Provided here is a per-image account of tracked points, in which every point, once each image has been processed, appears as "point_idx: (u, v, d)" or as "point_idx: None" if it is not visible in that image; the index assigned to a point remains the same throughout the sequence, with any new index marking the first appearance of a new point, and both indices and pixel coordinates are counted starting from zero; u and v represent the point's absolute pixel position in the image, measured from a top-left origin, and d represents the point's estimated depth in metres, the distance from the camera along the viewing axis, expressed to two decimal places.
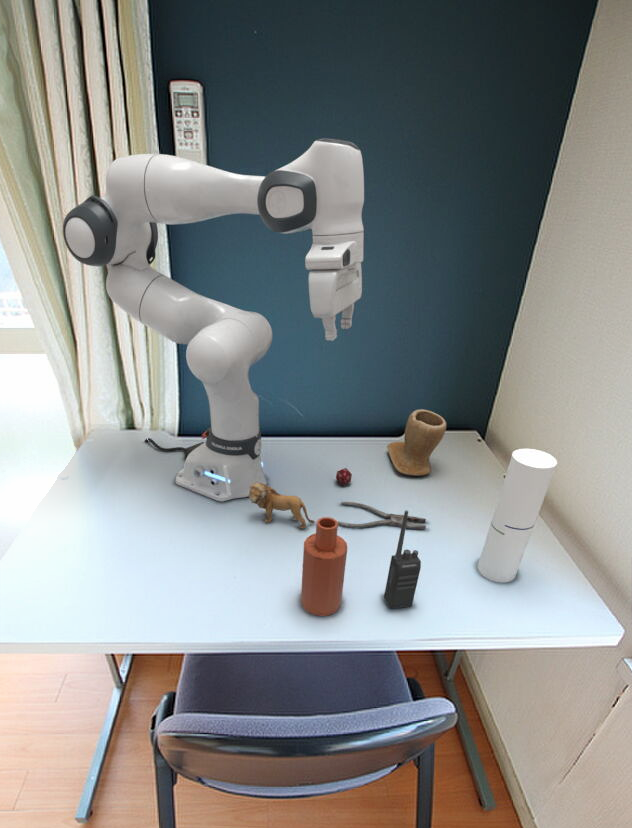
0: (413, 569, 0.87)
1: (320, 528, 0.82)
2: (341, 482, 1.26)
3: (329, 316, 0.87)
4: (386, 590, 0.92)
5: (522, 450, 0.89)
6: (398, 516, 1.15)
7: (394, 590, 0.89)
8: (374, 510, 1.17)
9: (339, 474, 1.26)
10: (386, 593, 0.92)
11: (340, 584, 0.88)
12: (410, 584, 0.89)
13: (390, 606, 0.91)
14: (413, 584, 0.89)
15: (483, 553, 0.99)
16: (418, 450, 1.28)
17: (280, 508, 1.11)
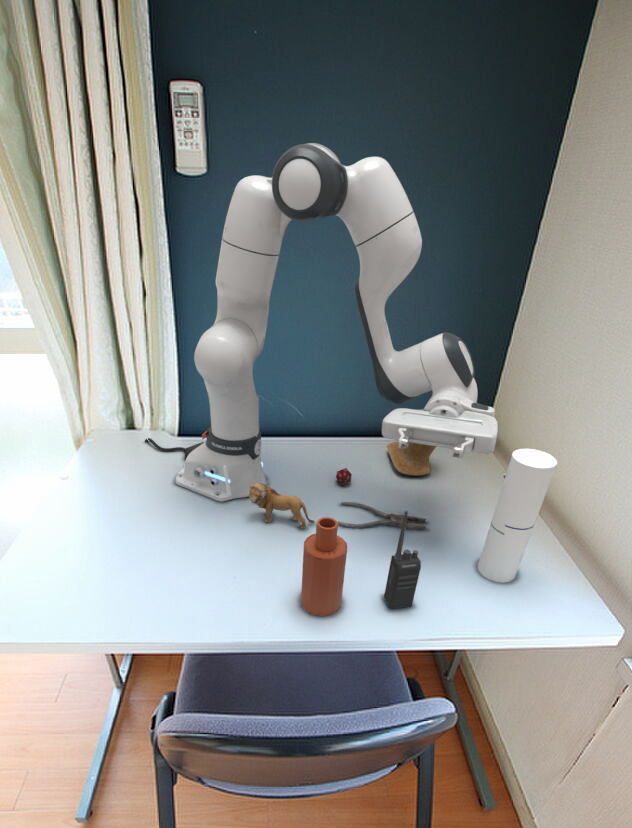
0: (413, 569, 0.87)
1: (320, 528, 0.82)
2: (341, 482, 1.26)
3: (490, 452, 0.89)
4: (386, 590, 0.92)
5: (522, 450, 0.89)
6: (398, 516, 1.15)
7: (394, 590, 0.89)
8: (374, 510, 1.17)
9: (339, 474, 1.26)
10: (386, 593, 0.92)
11: (340, 584, 0.88)
12: (410, 584, 0.89)
13: (390, 606, 0.91)
14: (413, 584, 0.89)
15: (483, 553, 0.99)
16: (418, 450, 1.28)
17: (280, 508, 1.11)
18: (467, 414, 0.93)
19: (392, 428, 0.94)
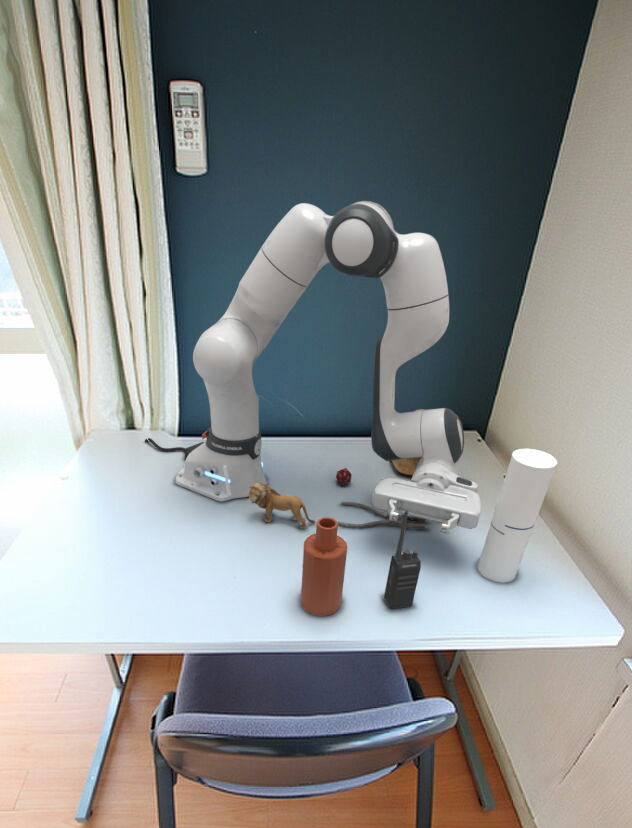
0: (413, 569, 0.87)
1: (320, 528, 0.82)
2: (341, 482, 1.26)
3: (473, 527, 0.95)
4: (386, 590, 0.92)
5: (522, 450, 0.89)
6: None
7: (394, 590, 0.89)
8: (374, 510, 1.17)
9: (339, 474, 1.26)
10: (386, 593, 0.92)
11: (340, 584, 0.88)
12: (410, 584, 0.89)
13: (390, 606, 0.91)
14: (413, 584, 0.89)
15: (483, 553, 0.99)
16: None
17: (280, 508, 1.11)
18: (452, 488, 0.99)
19: (383, 499, 0.99)
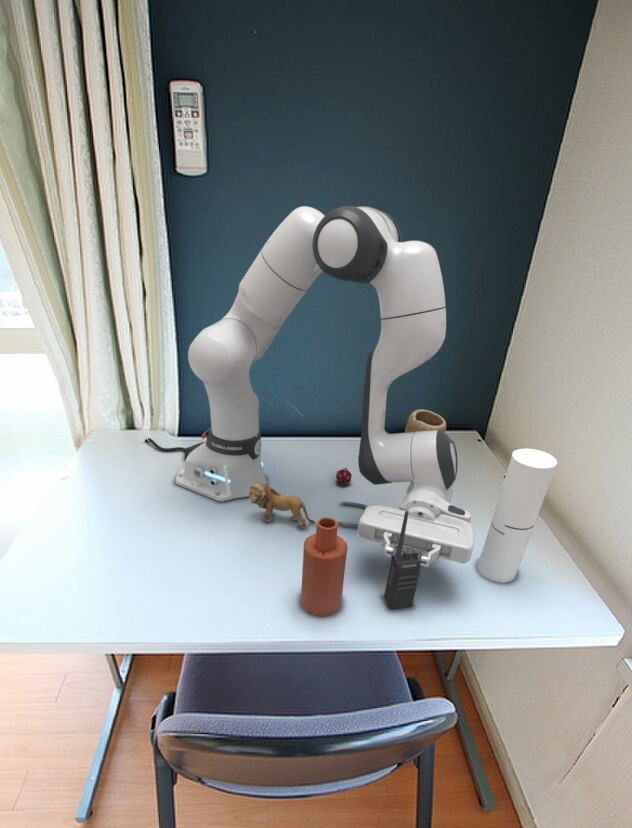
0: (414, 569, 0.87)
1: (320, 528, 0.82)
2: (341, 482, 1.26)
3: None
4: (386, 590, 0.92)
5: (522, 450, 0.89)
6: None
7: (394, 590, 0.89)
8: None
9: (339, 474, 1.26)
10: (386, 593, 0.92)
11: (340, 584, 0.88)
12: (410, 584, 0.89)
13: (390, 606, 0.91)
14: (413, 584, 0.89)
15: (483, 553, 0.99)
16: None
17: (280, 508, 1.11)
18: (444, 518, 0.92)
19: (368, 529, 0.92)
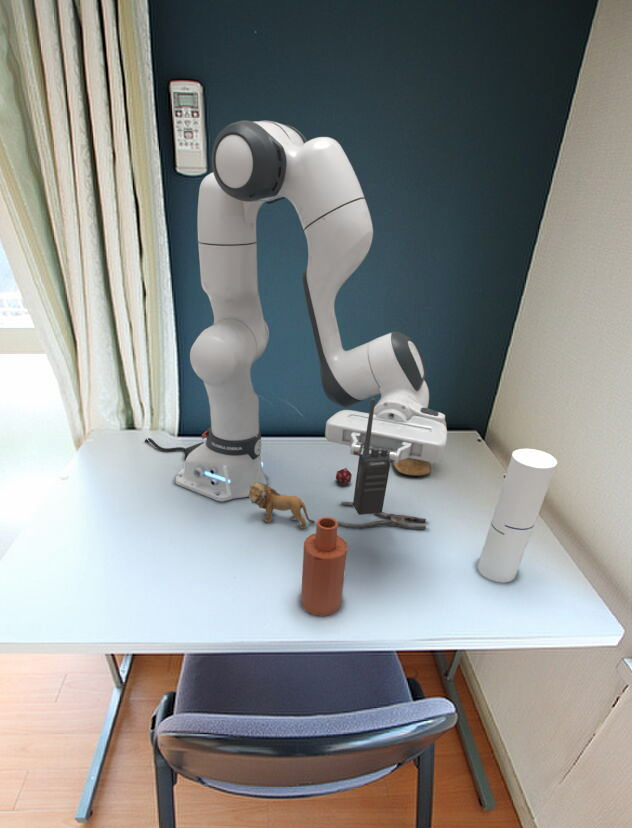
0: (382, 467, 0.82)
1: (320, 528, 0.82)
2: (341, 482, 1.26)
3: (438, 461, 0.83)
4: (355, 495, 0.87)
5: (522, 450, 0.89)
6: (398, 516, 1.15)
7: (362, 493, 0.84)
8: None
9: (339, 474, 1.26)
10: (355, 499, 0.87)
11: (340, 584, 0.88)
12: (379, 485, 0.84)
13: (358, 512, 0.86)
14: (382, 486, 0.84)
15: (483, 553, 0.99)
16: None
17: (280, 508, 1.11)
18: (416, 419, 0.87)
19: (336, 431, 0.87)
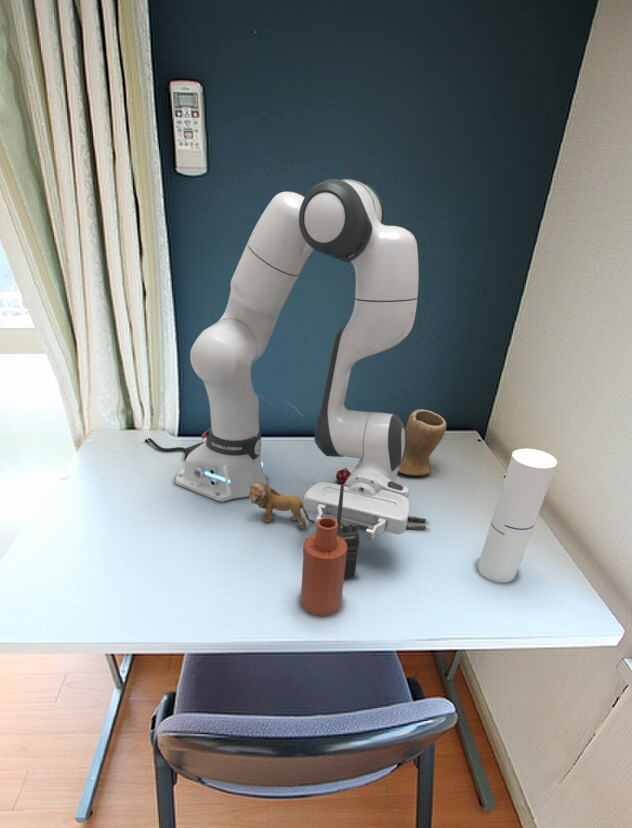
0: (353, 541, 0.93)
1: (320, 528, 0.82)
2: (341, 482, 1.26)
3: (401, 533, 0.94)
4: None
5: (522, 450, 0.89)
6: None
7: None
8: None
9: (339, 474, 1.26)
10: None
11: (340, 584, 0.88)
12: (351, 555, 0.95)
13: None
14: (353, 556, 0.95)
15: (483, 553, 0.99)
16: (418, 450, 1.28)
17: (280, 508, 1.11)
18: (383, 493, 0.98)
19: (312, 503, 0.98)
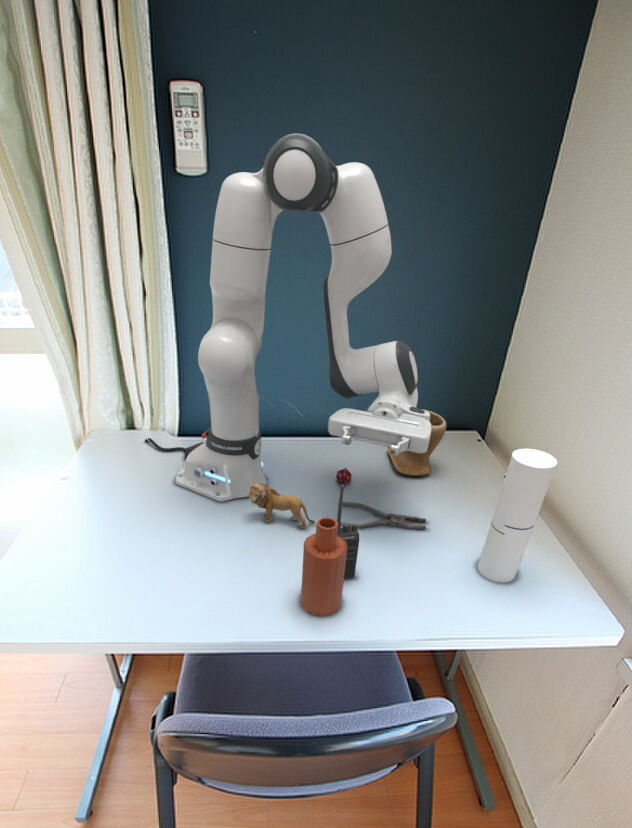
0: (353, 541, 0.93)
1: (320, 528, 0.82)
2: (341, 482, 1.26)
3: (423, 452, 0.98)
4: None
5: (522, 450, 0.89)
6: (398, 516, 1.15)
7: None
8: (374, 510, 1.17)
9: (339, 474, 1.26)
10: None
11: (340, 584, 0.88)
12: (351, 555, 0.95)
13: None
14: (353, 556, 0.95)
15: (483, 553, 0.99)
16: None
17: (280, 508, 1.11)
18: (405, 416, 1.02)
19: (337, 425, 1.02)
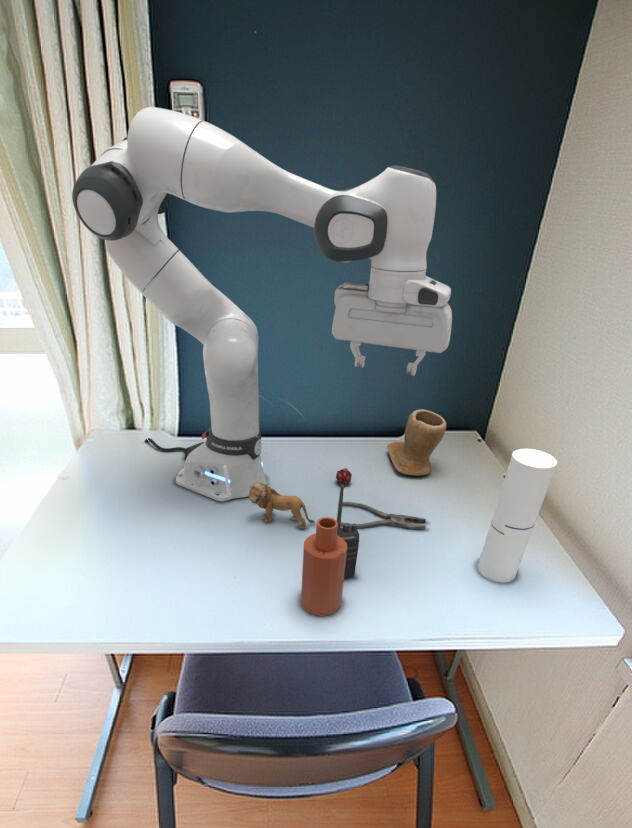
0: (353, 541, 0.93)
1: (320, 528, 0.82)
2: (341, 482, 1.26)
3: None
4: None
5: (522, 450, 0.89)
6: (398, 516, 1.15)
7: None
8: (374, 510, 1.17)
9: (339, 474, 1.26)
10: None
11: (340, 584, 0.88)
12: (351, 555, 0.95)
13: None
14: (353, 556, 0.95)
15: (483, 553, 0.99)
16: (418, 450, 1.28)
17: (280, 508, 1.11)
18: (415, 311, 0.83)
19: None
